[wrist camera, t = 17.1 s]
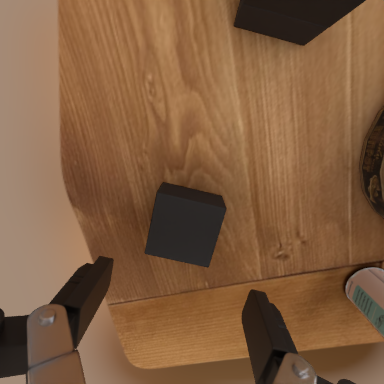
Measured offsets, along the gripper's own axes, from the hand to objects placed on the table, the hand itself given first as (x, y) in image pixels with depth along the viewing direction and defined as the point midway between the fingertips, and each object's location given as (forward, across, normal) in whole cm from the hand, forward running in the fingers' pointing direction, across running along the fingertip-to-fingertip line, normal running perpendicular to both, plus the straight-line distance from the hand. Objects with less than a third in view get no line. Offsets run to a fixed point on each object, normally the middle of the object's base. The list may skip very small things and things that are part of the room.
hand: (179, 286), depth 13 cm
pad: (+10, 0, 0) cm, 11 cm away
